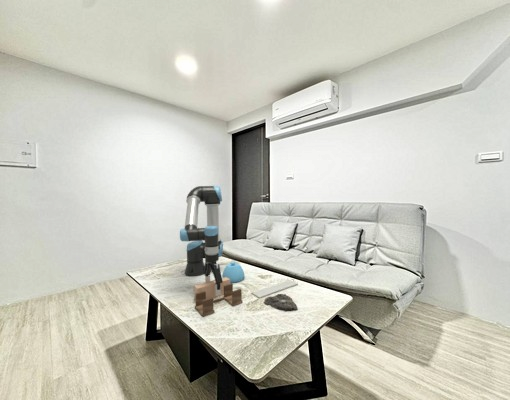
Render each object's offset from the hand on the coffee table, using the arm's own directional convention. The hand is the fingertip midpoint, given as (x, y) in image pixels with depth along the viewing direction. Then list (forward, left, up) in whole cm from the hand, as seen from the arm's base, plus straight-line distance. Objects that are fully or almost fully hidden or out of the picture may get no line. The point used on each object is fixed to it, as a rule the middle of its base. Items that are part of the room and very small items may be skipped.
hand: (212, 291), depth 123 cm
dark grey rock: (+30, +26, -4) cm, 40 cm away
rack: (+12, -2, -3) cm, 12 cm away
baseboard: (+14, +34, -4) cm, 37 cm away
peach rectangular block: (0, 0, -3) cm, 3 cm away
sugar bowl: (-15, +22, -3) cm, 27 cm away
